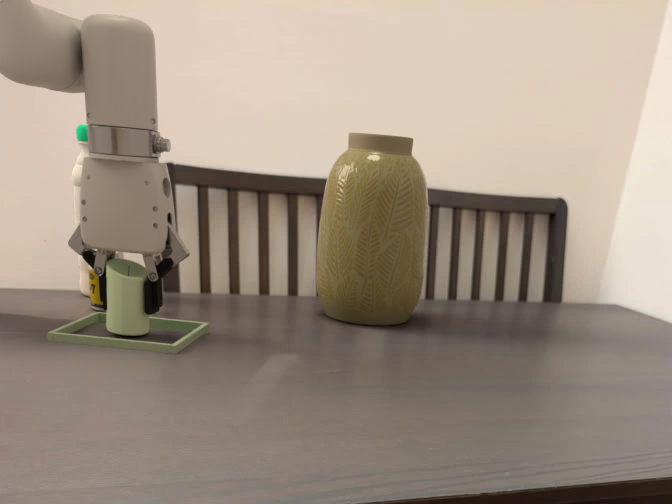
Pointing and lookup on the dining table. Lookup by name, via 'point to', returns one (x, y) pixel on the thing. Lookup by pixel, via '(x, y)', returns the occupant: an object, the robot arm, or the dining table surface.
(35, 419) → the dining table surface
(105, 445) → the dining table surface
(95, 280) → the supplement bottle
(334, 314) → the vase
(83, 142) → the water bottle
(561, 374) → the dining table surface
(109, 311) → the candle
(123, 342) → the tray
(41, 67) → the robot arm
